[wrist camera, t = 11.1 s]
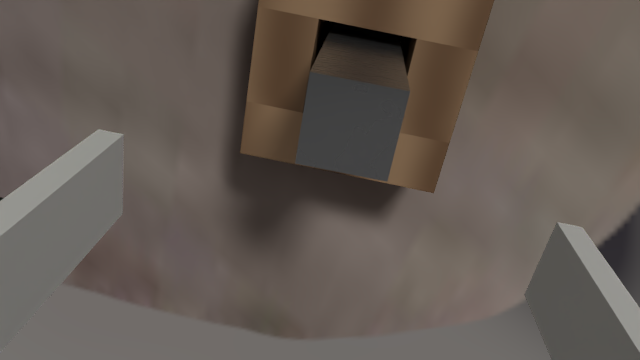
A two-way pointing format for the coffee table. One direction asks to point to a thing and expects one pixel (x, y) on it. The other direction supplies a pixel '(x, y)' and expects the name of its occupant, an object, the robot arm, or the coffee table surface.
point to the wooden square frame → (419, 58)
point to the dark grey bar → (354, 103)
